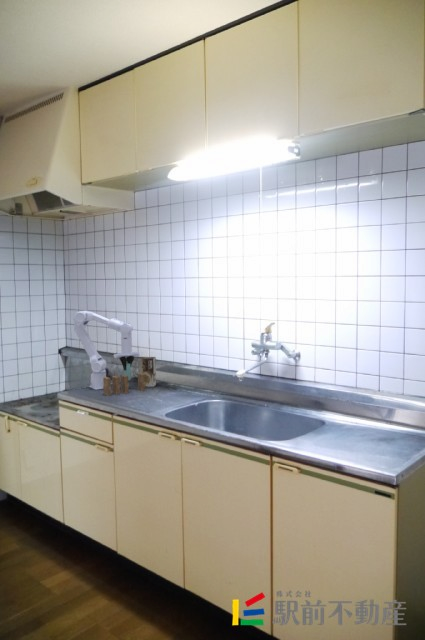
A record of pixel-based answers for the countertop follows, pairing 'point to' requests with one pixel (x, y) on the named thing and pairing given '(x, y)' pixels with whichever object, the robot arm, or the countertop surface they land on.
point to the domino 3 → (127, 371)
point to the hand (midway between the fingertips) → (126, 369)
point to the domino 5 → (141, 381)
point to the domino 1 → (107, 386)
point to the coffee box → (148, 370)
